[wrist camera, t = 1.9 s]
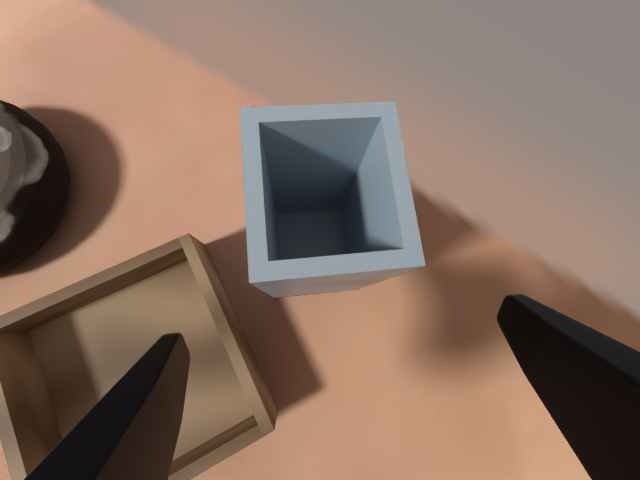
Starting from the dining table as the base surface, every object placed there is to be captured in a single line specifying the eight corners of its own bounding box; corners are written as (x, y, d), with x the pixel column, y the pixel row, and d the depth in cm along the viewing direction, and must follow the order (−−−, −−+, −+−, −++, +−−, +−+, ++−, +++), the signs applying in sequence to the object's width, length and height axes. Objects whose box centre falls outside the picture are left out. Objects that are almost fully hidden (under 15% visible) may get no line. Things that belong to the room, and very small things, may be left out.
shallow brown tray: (277, 411, 18) (274, 430, 15) (83, 523, 16) (36, 569, 13) (204, 244, 19) (188, 233, 17) (22, 326, 18) (-30, 328, 15)
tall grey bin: (358, 289, 20) (425, 265, 9) (274, 297, 19) (248, 282, 9) (346, 203, 21) (394, 101, 11) (267, 209, 20) (239, 107, 10)
